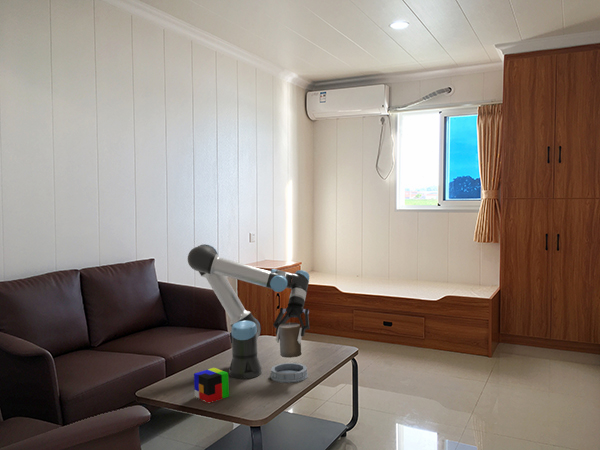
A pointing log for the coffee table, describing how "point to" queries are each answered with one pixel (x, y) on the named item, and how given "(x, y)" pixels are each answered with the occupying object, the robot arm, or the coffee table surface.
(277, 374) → the candle dish
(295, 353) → the pillar candle
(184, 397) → the coffee table surface
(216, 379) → the puzzle toy
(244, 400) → the coffee table surface
